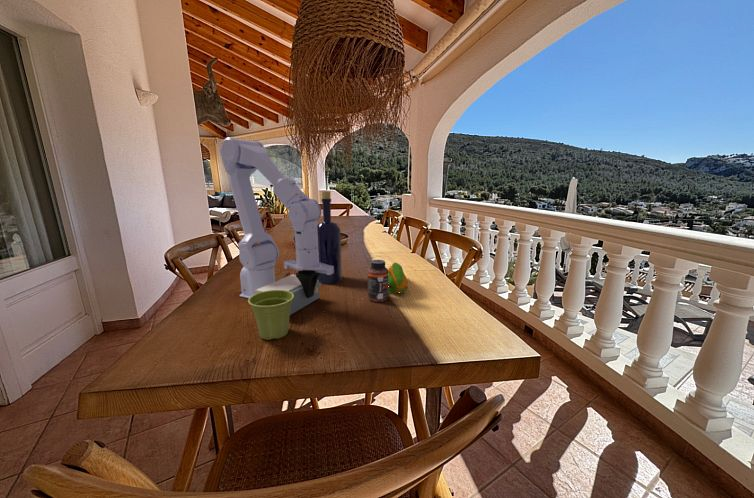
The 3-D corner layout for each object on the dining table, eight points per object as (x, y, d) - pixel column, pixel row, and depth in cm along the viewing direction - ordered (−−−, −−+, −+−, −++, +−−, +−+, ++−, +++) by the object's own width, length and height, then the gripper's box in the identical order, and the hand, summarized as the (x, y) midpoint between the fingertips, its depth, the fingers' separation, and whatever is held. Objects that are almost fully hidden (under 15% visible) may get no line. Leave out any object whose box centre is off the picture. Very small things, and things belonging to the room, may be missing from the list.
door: (279, 318, 73) (278, 297, 71) (316, 297, 86) (315, 279, 84) (286, 319, 72) (284, 299, 71) (321, 298, 85) (321, 280, 84)
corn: (386, 273, 84) (381, 255, 103) (384, 298, 86) (380, 276, 105) (411, 275, 84) (402, 257, 104) (409, 299, 86) (400, 277, 106)
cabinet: (257, 311, 77) (255, 289, 75) (293, 293, 89) (292, 274, 88) (281, 317, 74) (279, 294, 72) (315, 297, 86) (314, 278, 85)
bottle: (320, 274, 106) (317, 190, 100) (345, 276, 105) (343, 190, 98) (311, 283, 98) (307, 191, 91) (338, 285, 96) (336, 191, 89)
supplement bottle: (386, 303, 82) (386, 264, 79) (365, 302, 83) (365, 263, 81) (389, 295, 88) (390, 259, 85) (370, 294, 89) (370, 257, 86)
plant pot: (273, 320, 72) (271, 287, 70) (304, 328, 68) (302, 293, 66) (242, 338, 64) (238, 301, 62) (275, 348, 60) (271, 309, 58)
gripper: (274, 247, 75) (278, 297, 78) (321, 253, 69) (323, 307, 72) (292, 242, 81) (295, 288, 85) (337, 247, 76) (339, 296, 79)
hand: (309, 296), depth 79 cm, fingers closed
